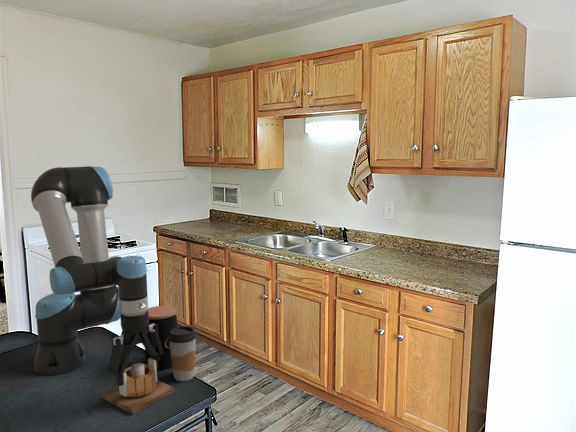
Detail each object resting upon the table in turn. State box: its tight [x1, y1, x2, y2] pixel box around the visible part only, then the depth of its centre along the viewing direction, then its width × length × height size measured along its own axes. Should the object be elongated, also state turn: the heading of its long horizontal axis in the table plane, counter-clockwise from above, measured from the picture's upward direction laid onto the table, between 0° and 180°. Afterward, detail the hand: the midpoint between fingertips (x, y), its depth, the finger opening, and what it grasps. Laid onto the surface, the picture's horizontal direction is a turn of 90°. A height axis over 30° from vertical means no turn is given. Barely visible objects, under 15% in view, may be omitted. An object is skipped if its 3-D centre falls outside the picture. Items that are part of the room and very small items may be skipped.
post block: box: [102, 362, 176, 416], centre depth 131 cm, size 14×14×9 cm
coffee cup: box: [169, 325, 197, 382], centre depth 142 cm, size 8×8×15 cm
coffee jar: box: [144, 305, 178, 371], centre depth 151 cm, size 11×11×18 cm
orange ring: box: [124, 363, 156, 397], centre depth 131 cm, size 9×9×5 cm
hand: (138, 387), depth 131 cm, fingers closed on orange ring, 9 cm apart
